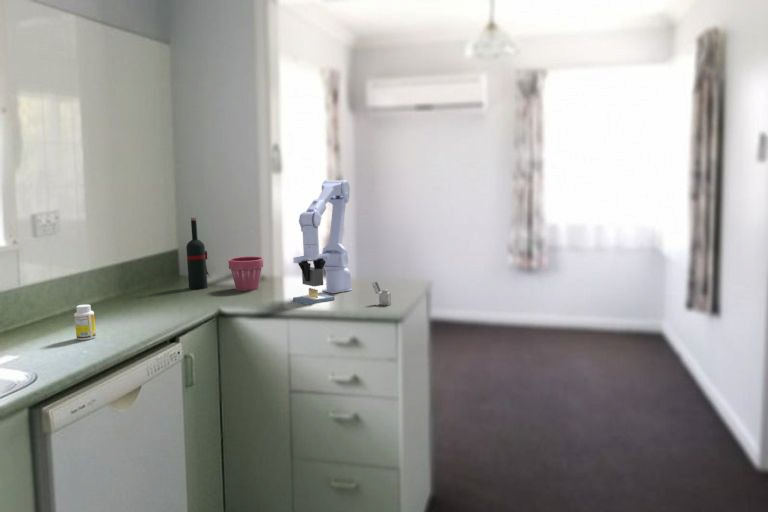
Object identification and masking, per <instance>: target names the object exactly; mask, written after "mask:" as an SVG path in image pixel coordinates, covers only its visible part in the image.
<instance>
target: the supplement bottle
mask: <svg viewBox="0 0 768 512" xmlns="http://www.w3.org/2000/svg"><path fill="white" fill-rule="evenodd" d="M91 307H92V306H91V304H79V305H77V306H76V312H74V325H75V335H76V336H75V337H76V339H77V341H78V340H79V341H89V340H93V339H95V338H96V337H97V331H96V329H97V328H96V321H95V312H94V311H93V310H92V308H91Z"/></svg>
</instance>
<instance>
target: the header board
mask: <svg viewBox="0 0 768 512" xmlns="http://www.w3.org/2000/svg"><path fill="white" fill-rule="evenodd" d="M334 300H335V296H334V295H330V294H325V293H322V292H320V293H319V290H318V289H316V288H312V287H308V294H306V295H302V296H295V297H292V301H293V302H297V303H299V304H303V305H306V306H307V305H313V304H319V303H324V302H329V301H334Z"/></svg>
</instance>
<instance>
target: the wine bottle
mask: <svg viewBox="0 0 768 512" xmlns="http://www.w3.org/2000/svg"><path fill="white" fill-rule="evenodd" d="M190 226H191V240H190V241H188V242H187V244H186V246H185V248H186V262H187V264H186V265H187V279H188V290H193V291H194V290H204V289H208V276H209V275H210V273H209V271H208V269H207V268H208V267H207V262H206V261H207V260H208V252H207V250H206V249H205V247H206V246H205V243H204V242H202V240H200V239H198V227H197V226H198V225H197V217H196V216H195V217H192V216H191V217H190Z"/></svg>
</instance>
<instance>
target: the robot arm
mask: <svg viewBox="0 0 768 512" xmlns="http://www.w3.org/2000/svg"><path fill="white" fill-rule="evenodd" d="M350 192H351V187H350V184H349V182H348V180H346V179H343V180H342V179H341V180H338V179H337V180H326V179H325V180H324V181H323V182H322V184H321V192H320V193H319V196H318V198H317V199H313V201H312V202H311V203H310V205H309V206H308V207H307V209H306V211H303V212H301V213H300V214H299V217H298V218H299V219H298V224H299V226H300V231H301V232H302V244H303V245H302V247H303V255H302V256H296V257H293V258H292V259H293V264H298V266H299V268H300V270H301V273H302V272H303V275H304V278H305V281H310V267H312V266H311V265H312V263H310V262H313V267H314V268H319V269H323V271H324V270H325V286H326V288H325V289H322V292H326V293H329V294H336V293H343V292H344V293H345V292H349V291H353V289H352V282H351V281H352V277H351V271H350V270H349V268H347V266H348V264H349V258H348V255H349V254H348V253H349V252H348V251H349V250H348V249H347V248H346V247H345V246H343V244H342V243H343V234H344V225H345V224H344V223H345V214H346V204H348V203H349V200H350ZM327 203H329V204H331V205H332V210H331V220H330V228H329V229H330V231H329V240H328V244H326V246H324V247H323V248H322V251H321V252H322V253H320V240H319V227H320V226H321V221H322V218H323V217H322V216H323V215H324V213H325V211H326V210H327V205H326V204H327Z"/></svg>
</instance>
